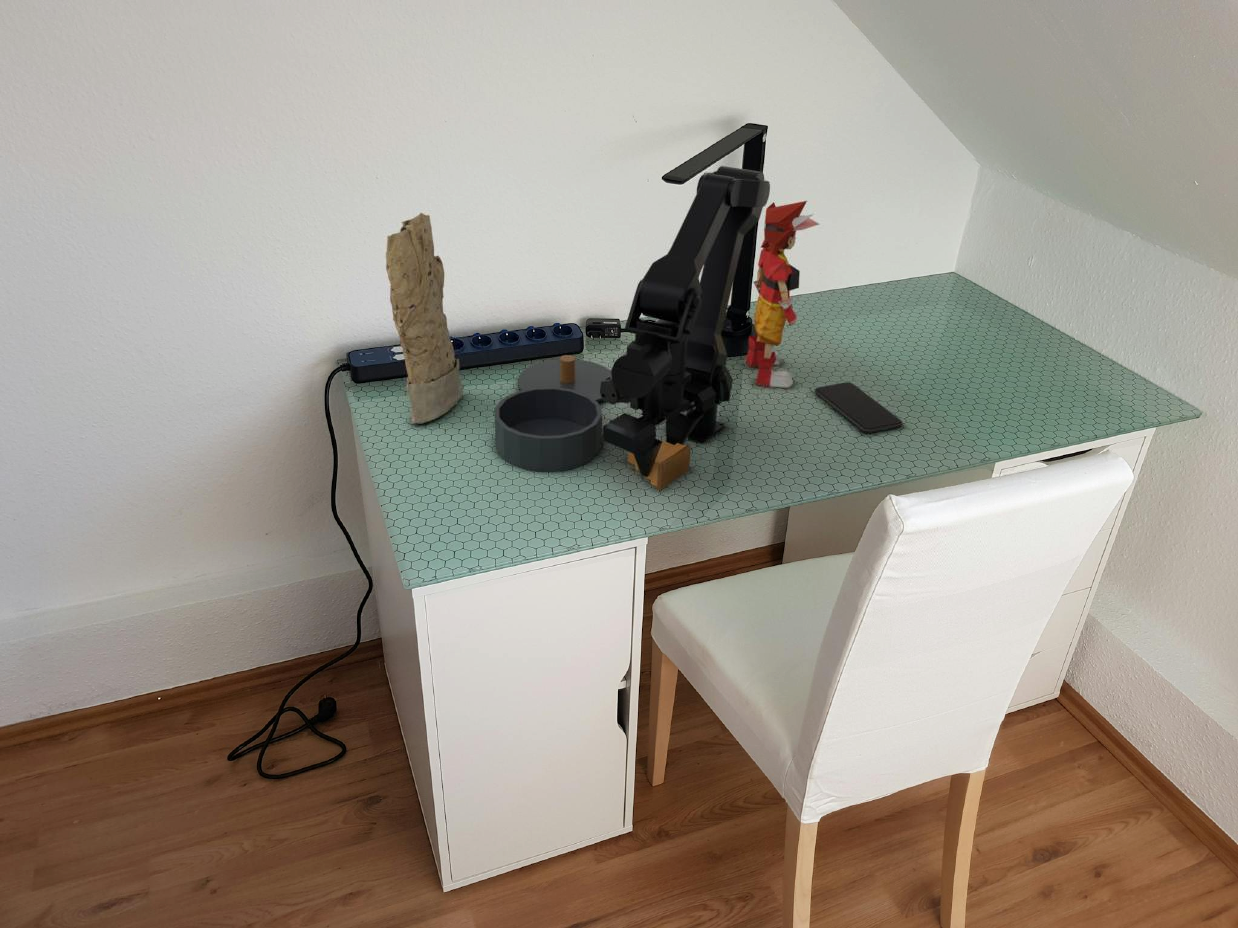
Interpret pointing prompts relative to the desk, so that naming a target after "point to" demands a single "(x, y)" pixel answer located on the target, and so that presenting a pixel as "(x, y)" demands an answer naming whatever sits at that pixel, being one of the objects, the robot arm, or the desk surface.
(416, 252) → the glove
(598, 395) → the pan lid
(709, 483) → the desk surface
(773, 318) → the toy
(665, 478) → the tan stepped block
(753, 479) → the desk surface
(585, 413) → the pan
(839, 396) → the smartphone
